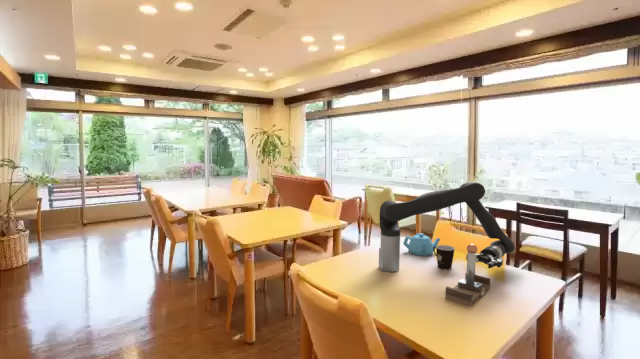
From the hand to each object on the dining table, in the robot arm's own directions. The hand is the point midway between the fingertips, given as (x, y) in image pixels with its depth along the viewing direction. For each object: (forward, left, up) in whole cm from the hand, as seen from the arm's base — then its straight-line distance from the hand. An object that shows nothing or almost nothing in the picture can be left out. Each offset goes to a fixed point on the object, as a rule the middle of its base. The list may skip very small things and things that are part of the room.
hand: (478, 263), depth 151 cm
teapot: (-5, +47, -10) cm, 48 cm away
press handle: (-7, -5, -8) cm, 12 cm away
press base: (-8, -6, -10) cm, 14 cm away
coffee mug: (-3, +25, -10) cm, 27 cm away
